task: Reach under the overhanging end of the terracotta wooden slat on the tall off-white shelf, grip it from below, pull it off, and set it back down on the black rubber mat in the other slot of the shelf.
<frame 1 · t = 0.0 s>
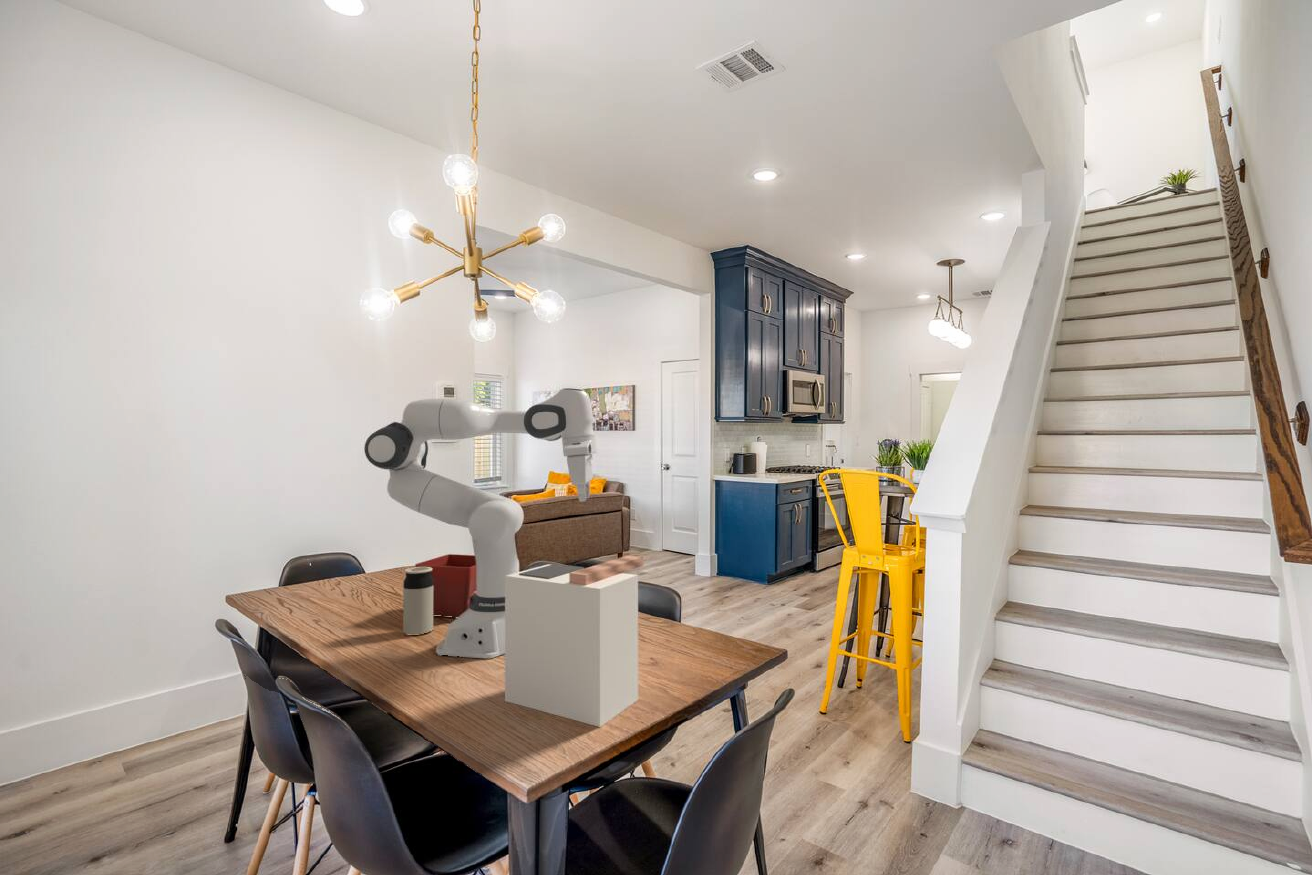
hand: (584, 499, 159), 39 cm above the table, tool pointing down, fingers open, 8 cm apart
plant pot: (458, 613, 191), on the table
terracotta slat: (608, 573, 126), point 26 cm above the table, touching shelf
travel mug: (418, 632, 171), on the table
shelf: (571, 700, 124), on the table
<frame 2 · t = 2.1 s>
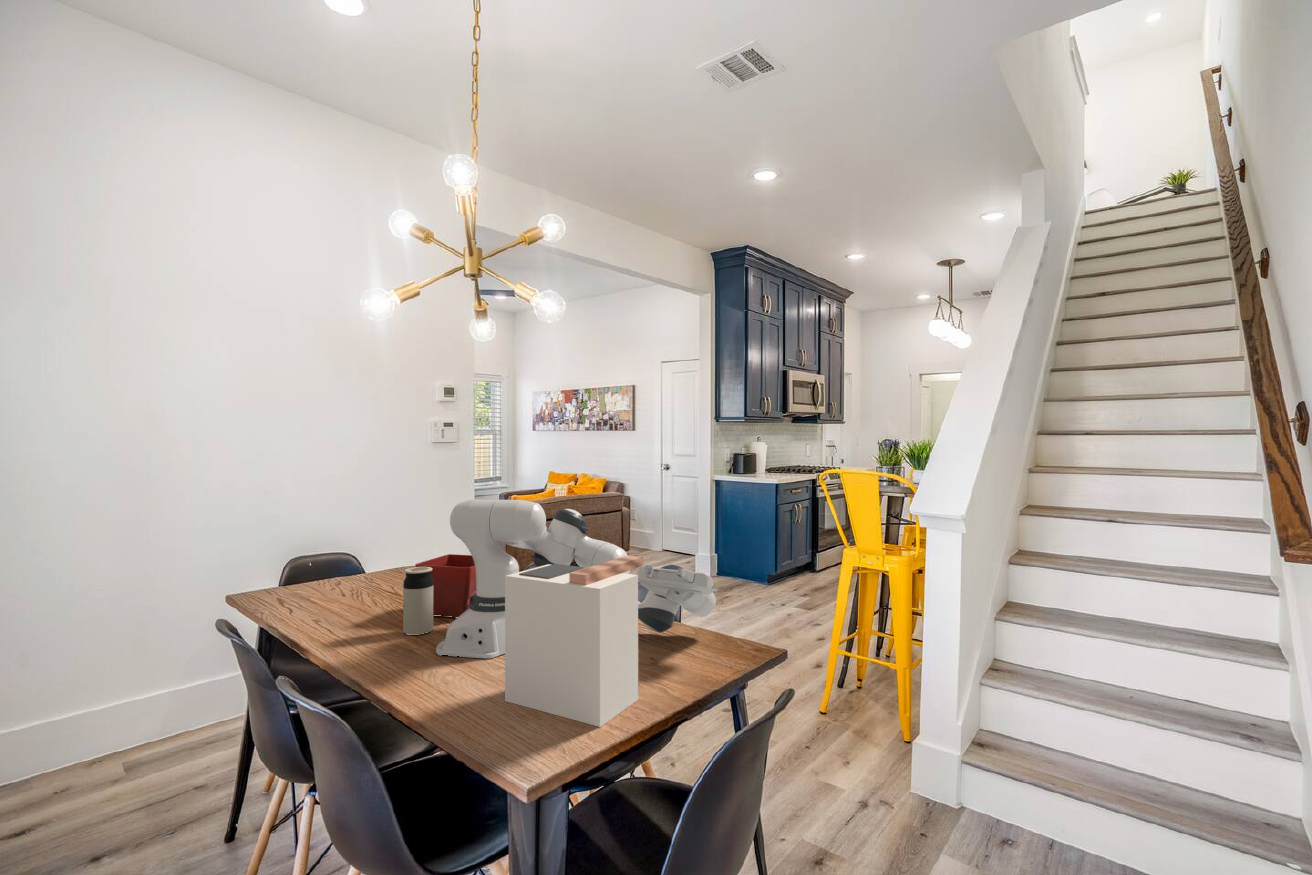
hand: (662, 569, 147), 23 cm above the table, tool pointing upward, fingers open, 8 cm apart
nothing on the table moved.
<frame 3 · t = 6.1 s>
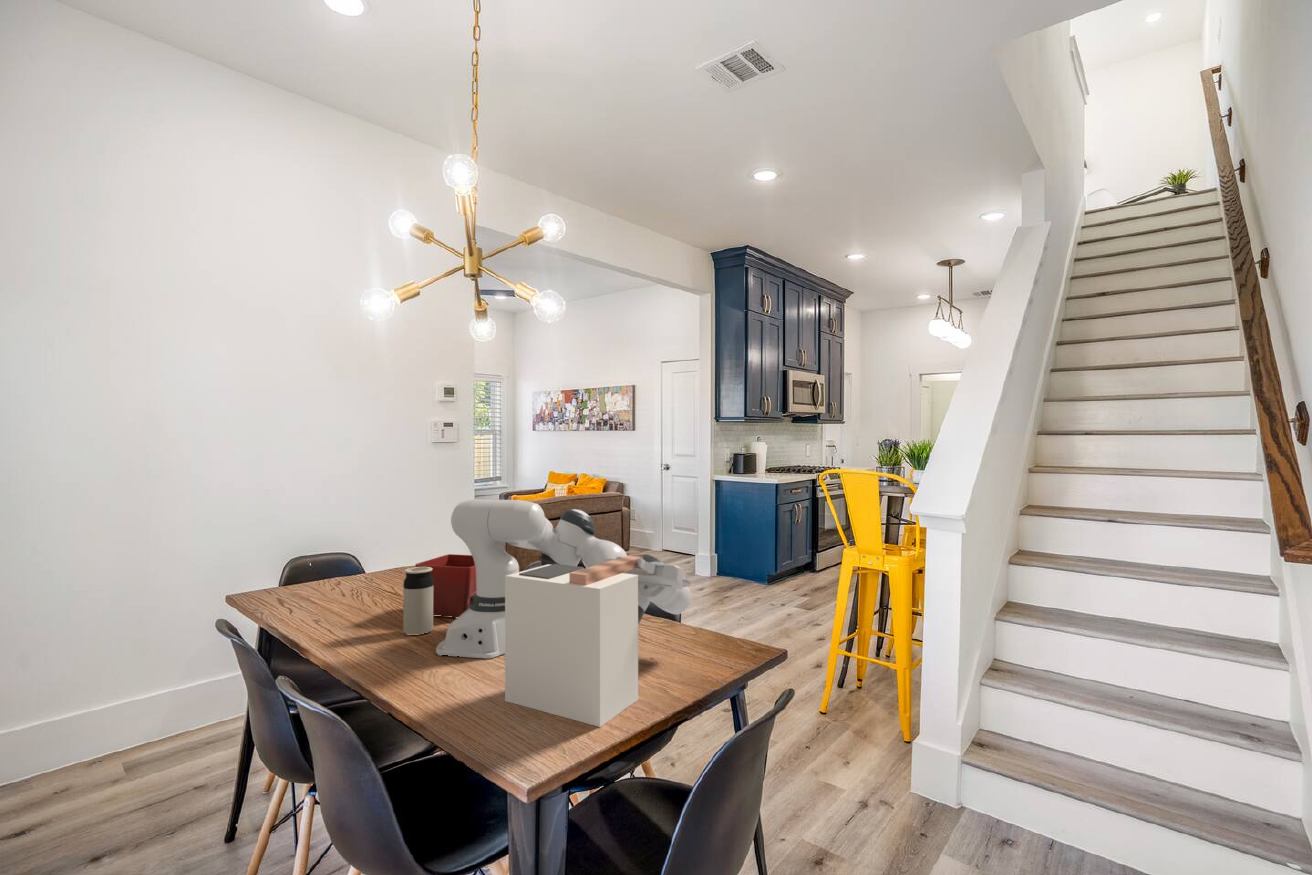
hand: (628, 560, 133), 27 cm above the table, tool pointing upward, fingers closed on terracotta slat, 4 cm apart
terracotta slat: (608, 573, 126), point 26 cm above the table, touching gripper, shelf
everything else where it was.
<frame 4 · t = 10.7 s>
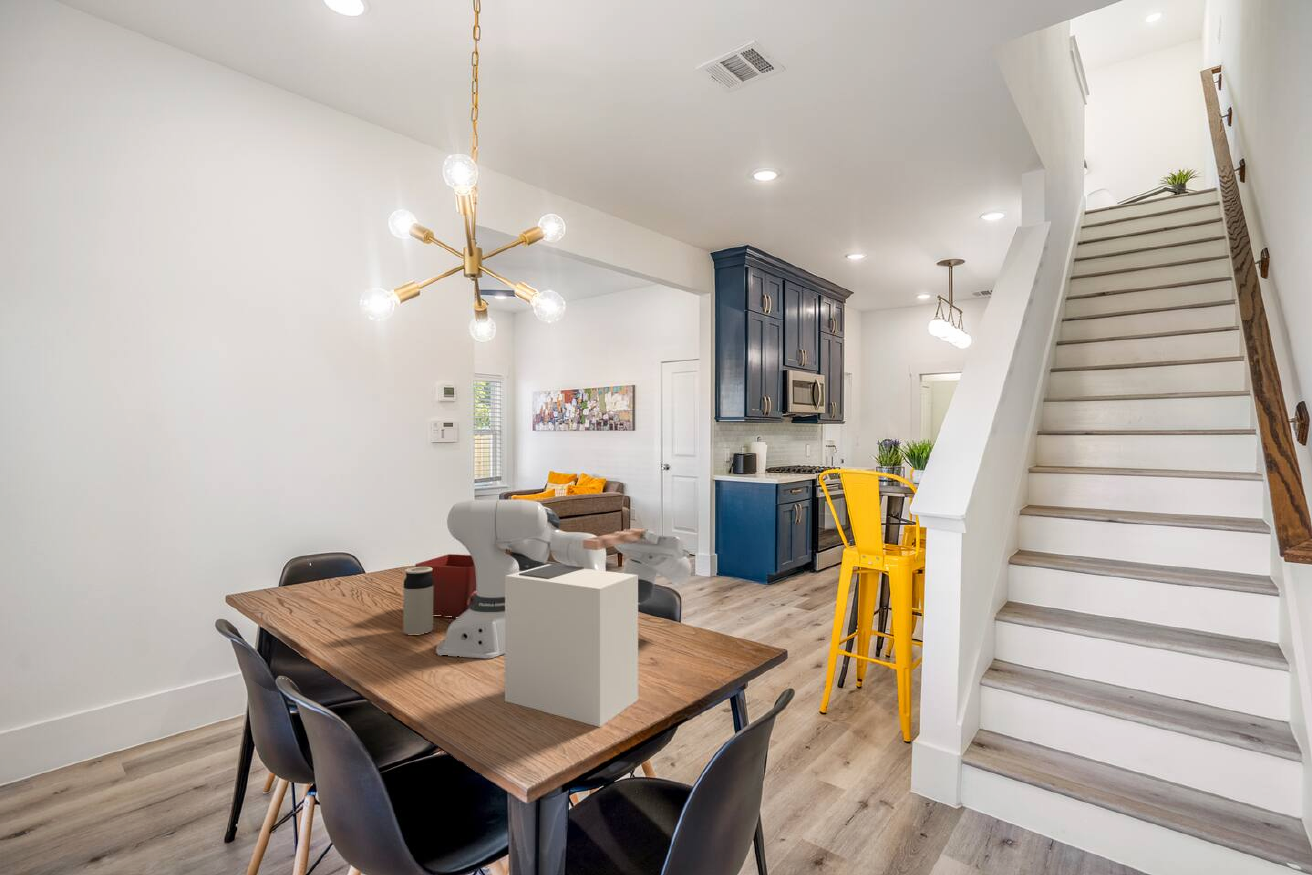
hand: (634, 532, 151), 31 cm above the table, tool pointing upward, fingers closed on terracotta slat, 4 cm apart
terracotta slat: (617, 542, 144), point 30 cm above the table, touching gripper
everything else where it was.
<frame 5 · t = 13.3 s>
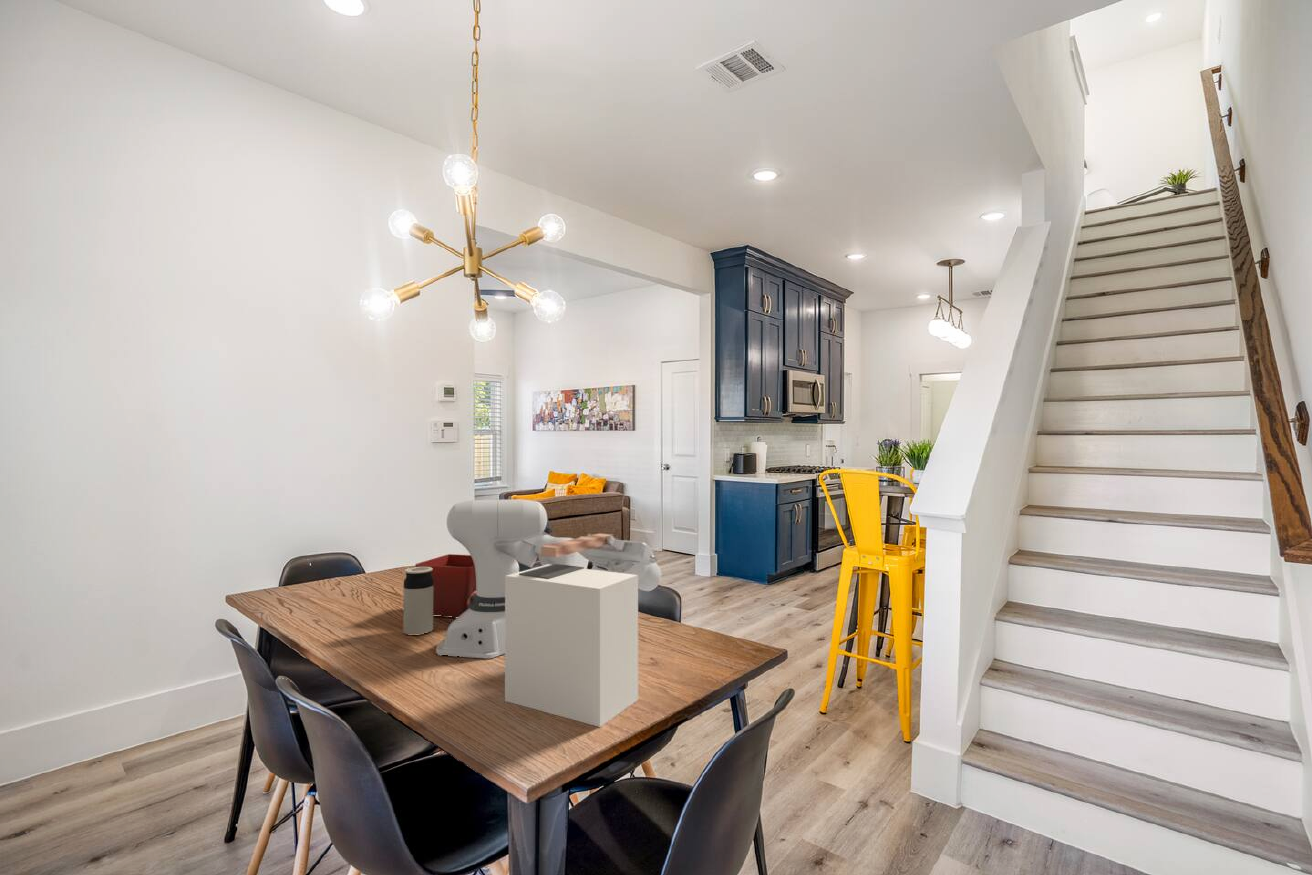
hand: (598, 538, 143), 31 cm above the table, tool pointing upward, fingers closed on terracotta slat, 4 cm apart
terracotta slat: (579, 548, 136), point 30 cm above the table, touching gripper
everything else where it was.
when the fingers open (29 cm above the table, at t = 15.3 s): terracotta slat drops 1 cm, resting on shelf.
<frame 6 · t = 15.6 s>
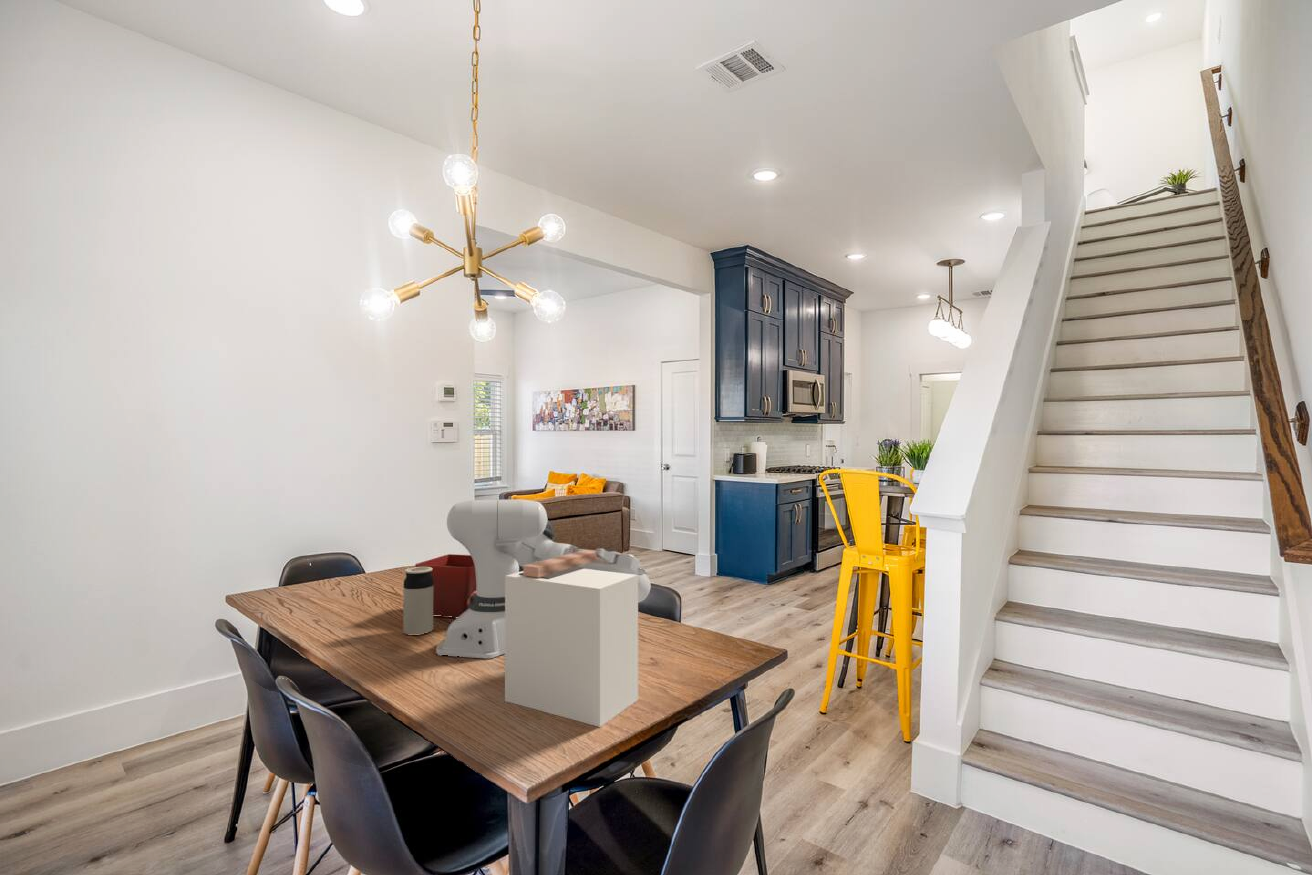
hand: (584, 549, 139), 29 cm above the table, tool pointing upward, fingers open, 6 cm apart
terracotta slat: (564, 566, 132), point 26 cm above the table, touching shelf
everything else where it was.
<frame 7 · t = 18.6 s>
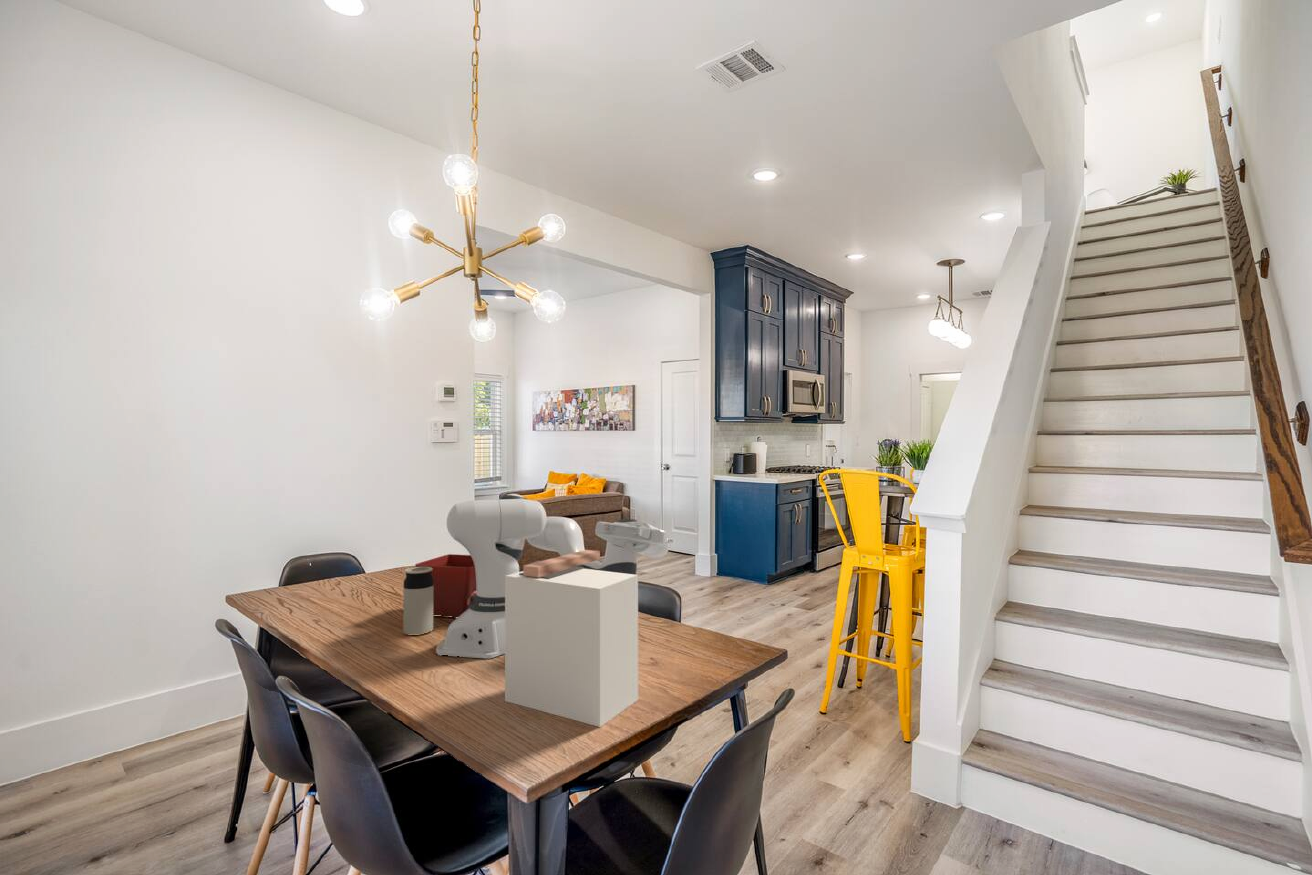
hand: (620, 528, 154), 32 cm above the table, tool pointing upward, fingers open, 8 cm apart
nothing on the table moved.
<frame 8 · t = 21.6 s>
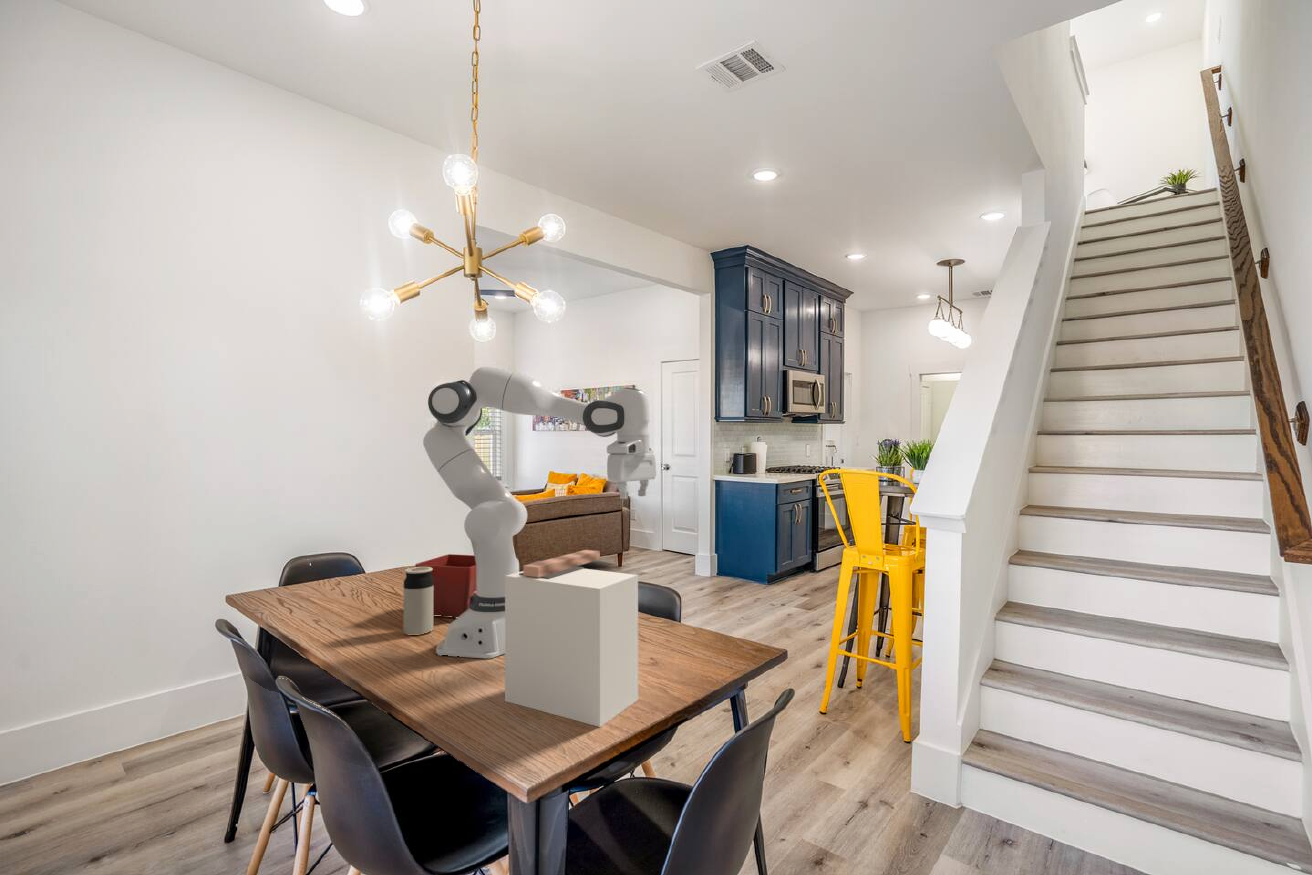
hand: (633, 497, 163), 39 cm above the table, tool pointing down, fingers open, 8 cm apart
nothing on the table moved.
at the end: terracotta slat 0.1 cm from the target spot on the shelf, point 26.3 cm above the shelf's base; terracotta slat tilted 0°; the gripper is holding nothing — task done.
